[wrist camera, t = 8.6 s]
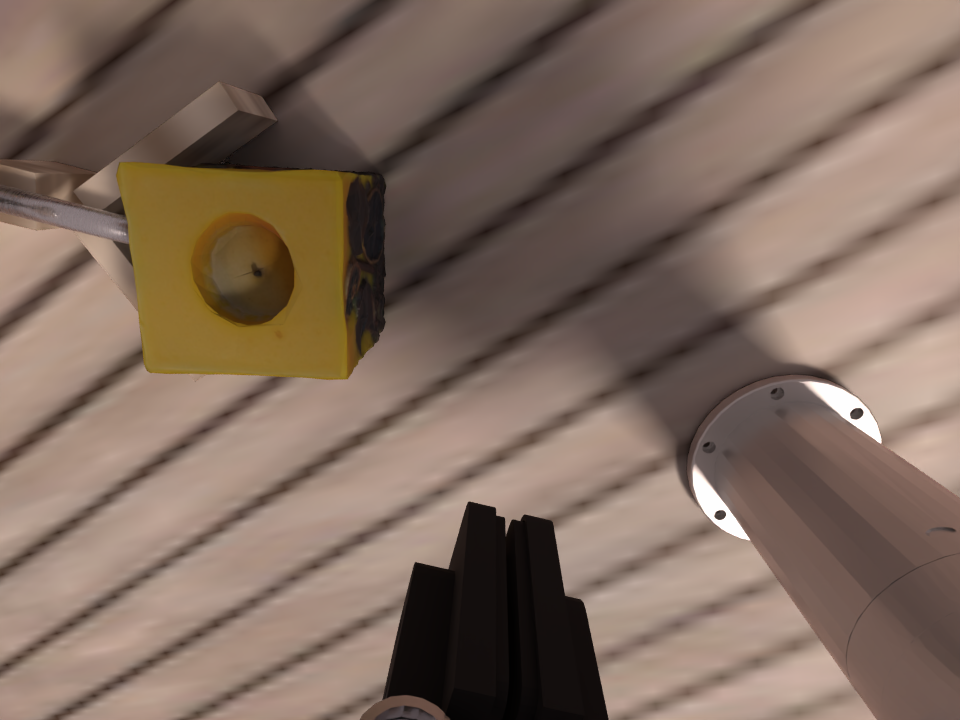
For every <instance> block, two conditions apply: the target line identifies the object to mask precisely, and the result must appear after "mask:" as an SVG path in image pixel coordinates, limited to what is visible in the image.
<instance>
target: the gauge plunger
mask: <svg viewBox="0 0 960 720" xmlns="http://www.w3.org/2000/svg"><path fill="white" fill-rule="evenodd" d="M0 212H1V213H5V214H9V215H13V216H17V217H21V218H25V219H29V220H33V221H37V222H41V223H45V224H49V225H53V226H57V227H61V228H65V229H69V230H73V231H77V232H81V233H85V234H89V235H93V236H97V237H101V238H105V239H109V240H113V241H117V242H121V243H125V244H129V233H128V222H127V218H126V216H125V215H121V214H117V213H113V212H109V211H105V210H101V209H97V208H93V207H89V206H85V205H81V204H77V203H73V202H69V201H65V200H61V199H58V198H54V197H50V196H46V195H42V194H38V193H34V192H30V191H26V190H22V189H18V188H14V187H10V186H6V185H2V184H0Z"/></svg>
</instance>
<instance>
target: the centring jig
mask: <svg viewBox="0 0 960 720" xmlns="http://www.w3.org/2000/svg"><path fill="white" fill-rule="evenodd" d="M276 121H278V120H277V119H276V117H275V116H274V114H273V113H272V111H271V110H270V108H269V107H268V105H267V103H266V102H265V100H264V99H263V97H262V96H260V95H257V94H254V93H251V92H248V91H245V90H243V89H240V88H237V87H234V86H231V85H228V84H226V83H223V82H220V81H219V82H217V83H216V84H215V85H213V86H212V87H211V88H209V89H208V90H207V91H205V92H204V93H203V94H201V95H200V96H199V97H197V98H196V99H195V100H193V101H192V102H191V103H189V104H188V105H187V106H185V107H184V108H183V109H182V110H180V111H179V112H178V113H176V114H175V115H174V116H172V117H171V118H170V119H168V120H167V121H166V122H164V123H163V124H162V125H160V126H159V127H158V128H156V129H155V130H154V131H152V132H151V133H150V134H148V135H147V136H146V137H144V138H143V139H142V140H140V141H139V142H138V143H136V144H135V145H134V146H132V147H131V148H130V149H128V150H127V151H126V152H125V153H123V154H122V155H121V156H119V157H118V158H117V159H115V160H114V161H113V162H111V163H110V164H109V165H107V166H106V167H105V168H103V169H102V170H101V171H99V172H98V173H97V172H93V171H89V170H85V169H81V168H77V167H73V166H69V165H65V164H62V163H58V162H54V161H34V160H9V159H0V184H2V185H6V186H10V187H14V188H18V189H22V190H26V191H30V192H34V193H38V194H42V195H46V196H50V197H54V198H58V199H61V200H65V201H69V202H73V203H77V204H81V205H85V206H89V207H93V208H97V209H101V210H105V211H109V212H113V213H117V214H121V215H125V216H126V214H125V210H124V206H123V202H122V199H121V194H120V190H119V186H118V182H117V178H116V173H117V169H118V165H119V162H144V163H156V164H168V165H174V166H181V167H192V166H196V165H198V164H201V163H212V164H218V163H219V162H221V161H222V160H223V159H225V158H226V157H228V156H229V155H230V154H232V153H233V152H234V151H236V150H237V149H239V148H240V147H241V146H243V145H244V144H246V143H247V142H248V141H250V140H251V139H253V138H254V137H255V136H257V135H258V134H260V133H261V132H262V131H264V130H265V129H267V128H268V127H269V126H271V125H272V124H274V123H275V122H276ZM0 222H4V223H8V224H12V225H16V226H20V227H24V228H28V229H32V230H36V231H37V230H46V229H55V228H61V227H57V226H53V225H49V224H45V223H41V222H37V221H33V220H29V219H25V218H21V217H17V216H13V215H9V214H5V213H1V212H0ZM73 232H74V233H75V235H76V236H77V237H78V238H79V240H80V241H81V242H82V243H83V245H84V246H85V247H86V248H87V249H88V251H89V252H90V253H91V254H92V256H93V257H94V258H95V259H96V261H97V262H98V263H99V264H100V265H101V267H102V268H103V269H104V270H105V272H106V273H107V274H108V275H109V277H110V278H111V279H112V280H113V282H114V283H115V284H116V285H117V286H118V288H119V289H120V290H121V291H122V293H123V294H124V295H125V296H126V298H127V299H128V300H129V301H130V302H131V304H132V305H133V306H134V307H135V309H136V310H137V311H138V301H137V292H136V284H135V277H134V270H133V263H132V257H131V252H130V246H129V244H125V243H121V242H117V241H113V240H109V239H105V238H101V237H97V236H93V235H89V234H85V233H81V232H77V231H73ZM189 375H190V376H191V378H192V379H193V380H194V381H197V380H199V379H200V378H202V377H204V376H205V375H207V374H189Z"/></svg>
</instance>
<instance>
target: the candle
mask: <svg viewBox="0 0 960 720" xmlns="http://www.w3.org/2000/svg"><path fill="white" fill-rule="evenodd" d="M116 178H117V182H118V186H119V190H120V194H121V199H122V202H123V206H124V210H125V214H126V218H127V222H128V233H129V246H130V252H131V257H132V263H133V270H134V277H135V284H136V292H137V301H138V313H139V324H140V332H141V340H142V348H143V359H144V365H145V367H146V370H147V371H148V372H150V373H163V374H231V375H260V376H281V377H303V378H315V379H326V380H333V379H348V378H349V376H350V375H351V374H352V372H353V369H354V367H356V366H357V365H358V361H359V360H360V359H362V358H363V357H364V355H365V353H366V352H367V351H368V350H369V349H370V348H372V347H373V346H374V343H376V342H377V341H378V340H379V336H380V335H379V333H380V332H382V331H383V329H384V326H385V319H384V317H383V316H384V308H383V307H384V303H385V299H384V295H383V292H384V277H385V276H386V273H385V258H384V239H385V225H386V224H385V220H384V216H383V211H384V203H385V202H384V193H385V189H386V184H385V181H384V178H383V176H382V175H380V174H375V173H372V172H355V171H353V172H350V171H337V170H335V171H332V170H331V171H327V170H314V169H312V168H310V169H299V168H288V167H287V168H281V167H256V166H242V165H233V164H219V165H217V164H212V163H201V164H198V165H196V166H192V167H181V166H174V165H168V164H156V163H144V162H119V165H118V169H117V173H116Z"/></svg>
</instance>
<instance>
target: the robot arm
mask: <svg viewBox="0 0 960 720" xmlns="http://www.w3.org/2000/svg"><path fill="white" fill-rule="evenodd" d="M772 390H773V391H772ZM687 476H688V481H689V487H690V489H691V492H692V494H693V496H694V498H695V501H696V502H697V504H698V505H699V507H700V508H701V510H702V511H703V513H704V514H705V515H706V516H707V517H708V519H709V520H710V521H711V522H712V523H713V524H715V525H716V526H718V527H719V528H721V529H722V530H723V531H725V532H727V533H729V534H731V535H734V536H736V537H738V538H741V539H745V540H749V541H751V542H752V544H753V545H754V546H755V548H756V549H757V551H758V552H759V554H760V555H761V556H762V558H763V559H764V561H765V562H766V564H767V565H768V566H769V568H770V569H771V571H772V572H773V574H774V575H775V576H776V578H777V579H778V581H779V582H780V583H781V585H782V586H783V588H784V589H785V591H786V592H787V593H788V595H789V596H790V598H791V599H792V601H793V602H794V603H795V605H796V606H797V608H798V609H799V611H800V612H801V613H802V615H803V616H804V618H805V619H806V620H807V622H808V623H809V625H810V626H811V628H812V629H813V630H814V632H815V633H816V635H817V636H818V638H819V639H820V640H821V642H822V643H823V645H824V646H825V648H826V649H827V650H828V652H829V653H830V655H831V656H832V657H833V659H834V660H835V662H836V663H837V665H838V666H839V667H840V669H841V670H842V672H843V673H844V675H845V676H846V677H847V679H848V680H849V682H850V683H851V685H852V686H853V687H854V689H855V690H856V692H857V693H858V694H859V695H860V697H861V698H862V700H863V701H864V702H865V704H866V705H867V707H868V708H869V709H870V711H871V712H872V714H873V715H874V716H875V718H876V719H877V720H960V498H959V497H958V496H957V495H955V494H954V493H952V492H951V491H949V490H948V489H946V488H945V487H943V486H942V485H941V484H939V483H938V482H936V481H935V480H933V479H932V478H930V477H929V476H927V475H926V474H925V473H923V472H922V471H920V470H919V469H917V468H916V467H914V466H913V465H911V464H910V463H909V462H907V461H906V460H904V459H903V458H901V457H900V456H898V455H897V454H895V453H894V452H893V451H891V450H890V449H888V448H887V447H885V446H884V445H882V439H881V433H880V430H879V427H878V423H877V421H876V419H875V418H874V416H873V414H872V412H871V411H870V409H869V408H868V407H867V406H866V405H865V404H864V403H863V402H862V401H861V400H860V399H859V398H858V397H857V396H856V395H854V394H853V393H851V392H849V391H848V390H846V389H845V388H843V387H841V386H839V385H837V384H835V383H833V382H831V381H829V380H826V379H822V378H818V377H814V376H807V375H785V376H776V377H771V378H768V379H764V380H761V381H757V382H754V383H752V384H750V385H748V386H746V387H744V388H742V389H739V390H738V391H736V392H735V393H733V394H732V395H730V396H729V397H727V398H726V399H724V400H723V401H722V402H721V403H720V404H719V405H718V406H716V407H715V408H714V409H713V410H712V411H711V412H710V413H709V414H708V416H707V417H706V418H705V420H704V421H703V423H702V424H701V425H700V427H699V428H698V430H697V432H696V434H695V436H694V439H693V441H692V443H691V447H690V450H689V454H688V460H687ZM360 720H609V719H608V715H607V710H606V705H605V700H604V695H603V690H602V686H601V681H600V676H599V671H598V666H597V662H596V657H595V652H594V647H593V642H592V638H591V633H590V628H589V623H588V618H587V613H586V609H585V606H584V603H583V602H582V601H581V599H576V598H572V597H567V596H565V593H564V587H563V581H562V575H561V569H560V563H559V556H558V550H557V544H556V538H555V532H554V526H553V522H552V521H551V520H546V519H542V518H538V517H534V516H529V515H523V517H522V519H521V521H517V520H512V521H511V523H510V525H509V528H508V532H507V535H506V533H505V518H504V517H500V516H496V508H495V507H491V506H486V505H482V504H478V503H473V502H468V503H467V506H466V509H465V513H464V516H463V520H462V523H461V527H460V530H459V534H458V537H457V541H456V544H455V548H454V551H453V555H452V558H451V562H450V565H449V569H443V568H439V567H434V566H430V565H426V564H421V563H417V562H415V564H414V567H413V571H412V575H411V578H410V582H409V586H408V590H407V594H406V598H405V602H404V606H403V610H402V614H401V619H400V623H399V627H398V632H397V636H396V640H395V645H394V650H393V654H392V659H391V663H390V668H389V672H388V677H387V682H386V686H385V691H384V695H383V700H382V701H379V702H377V703H375V704H374V705H373V706H372V707H371V708H369V709H368V710H367V711H366V712H365V713H364V714H363V715H362V716H361V718H360Z"/></svg>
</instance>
